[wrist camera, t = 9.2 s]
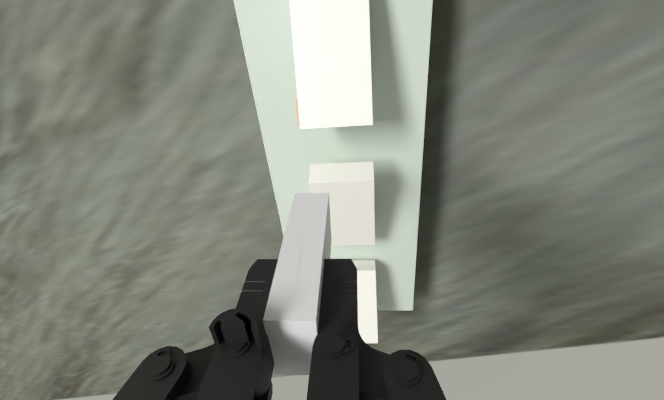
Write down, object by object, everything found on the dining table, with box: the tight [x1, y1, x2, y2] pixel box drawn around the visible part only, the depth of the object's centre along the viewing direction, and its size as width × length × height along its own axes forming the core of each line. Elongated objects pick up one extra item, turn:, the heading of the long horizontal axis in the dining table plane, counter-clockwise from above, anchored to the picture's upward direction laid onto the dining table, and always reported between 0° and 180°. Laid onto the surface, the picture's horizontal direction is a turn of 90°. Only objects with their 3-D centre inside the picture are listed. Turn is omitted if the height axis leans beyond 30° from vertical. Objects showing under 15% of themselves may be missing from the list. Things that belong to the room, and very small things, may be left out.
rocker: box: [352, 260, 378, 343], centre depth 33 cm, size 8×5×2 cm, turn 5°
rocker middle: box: [308, 161, 375, 246], centre depth 27 cm, size 8×4×2 cm, turn 5°
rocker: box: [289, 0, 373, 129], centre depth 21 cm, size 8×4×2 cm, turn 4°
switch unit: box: [233, 0, 433, 311], centre depth 30 cm, size 30×12×5 cm, turn 5°
